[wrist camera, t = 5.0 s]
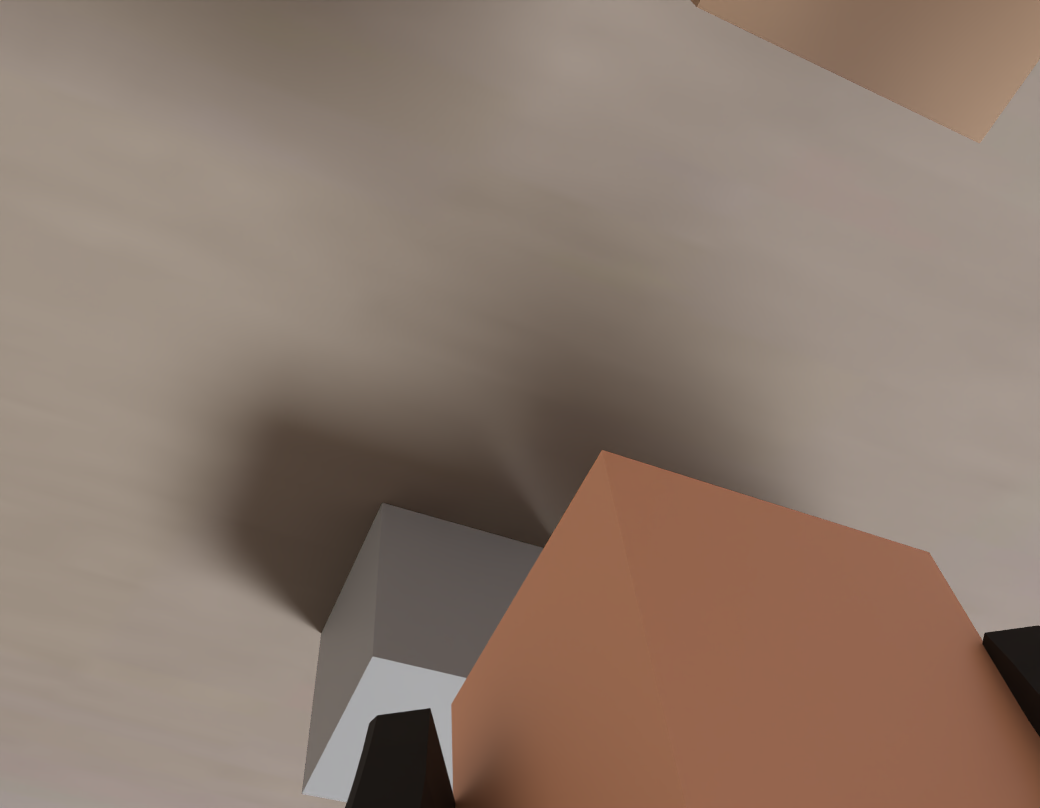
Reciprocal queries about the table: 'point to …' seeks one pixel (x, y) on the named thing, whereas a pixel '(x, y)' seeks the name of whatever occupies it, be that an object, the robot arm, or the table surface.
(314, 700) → the light gray block
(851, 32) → the wooden cube
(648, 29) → the table surface
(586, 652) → the terracotta block
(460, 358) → the table surface
